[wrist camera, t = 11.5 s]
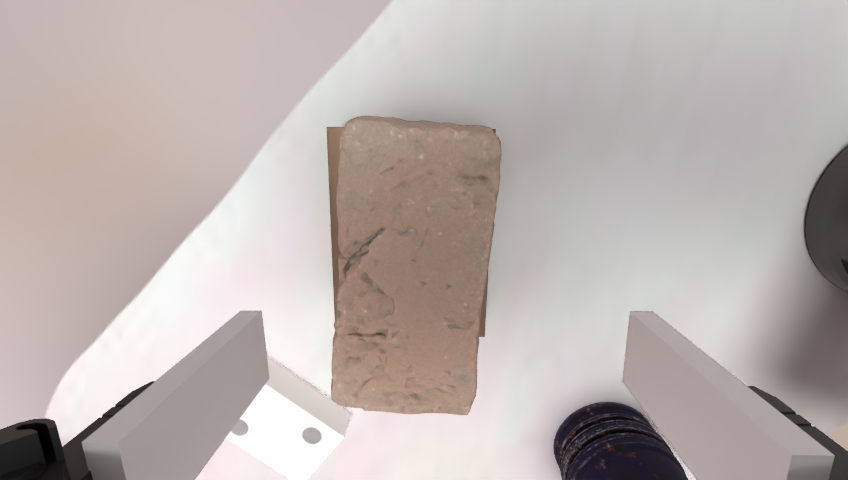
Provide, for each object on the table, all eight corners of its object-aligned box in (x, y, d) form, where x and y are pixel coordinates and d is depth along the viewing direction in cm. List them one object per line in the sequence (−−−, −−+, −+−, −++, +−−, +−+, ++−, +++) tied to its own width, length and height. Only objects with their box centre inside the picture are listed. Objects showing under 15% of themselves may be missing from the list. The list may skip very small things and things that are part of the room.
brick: (354, 116, 23) (333, 111, 19) (496, 127, 23) (510, 124, 19) (346, 367, 28) (328, 412, 23) (468, 377, 27) (474, 425, 23)
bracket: (204, 386, 39) (151, 442, 32) (241, 335, 38) (194, 381, 31) (312, 458, 41) (285, 526, 34) (352, 411, 40) (332, 472, 32)
